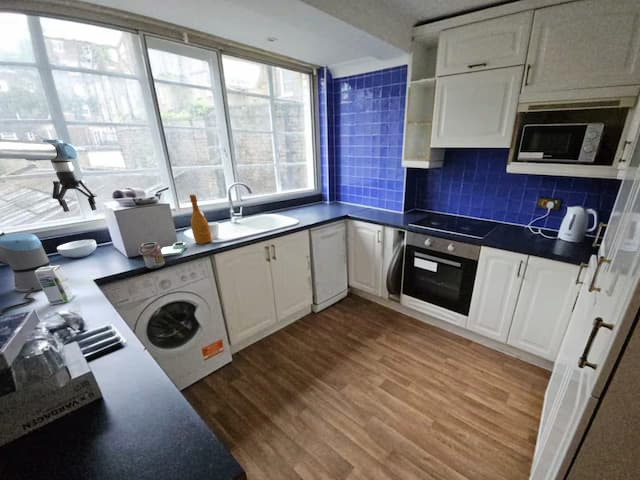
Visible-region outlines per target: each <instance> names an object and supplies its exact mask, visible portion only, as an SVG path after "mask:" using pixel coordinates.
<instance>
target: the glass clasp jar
mask: <svg viewBox="0 0 640 480" xmlns="http://www.w3.org/2000/svg"><path fill="white" fill-rule="evenodd" d="M161 249H162V248H161V247H160V245H159V244H158V242H155V241H151V242H149V241H148V242H145V243H141V246H140V248H139V249H138V254H139V255H141V256H142V257H143V260H144V263H145V266H146V268H148V269H150V270H153V269H158V268H161V267H164V266H165V264H166V262H165V259H164V256H163V255H162V252H161Z"/></svg>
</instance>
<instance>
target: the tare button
mask: <svg viewBox="0 0 640 480" xmlns="http://www.w3.org/2000/svg"><path fill="white" fill-rule="evenodd" d="M183 243H184V242H183V241H180V240H179V241H176V242H174V244H175V245H176V246H177V245H182V244H183Z"/></svg>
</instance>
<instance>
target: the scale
mask: <svg viewBox="0 0 640 480" xmlns="http://www.w3.org/2000/svg"><path fill="white" fill-rule="evenodd" d="M186 248H187V243H186V242H183V244H182V245H177V246H176V245H175V243H173V244H172V246H163V247H162V248H160V249H161V252H162V255H163V257H168V256H169V257H170V256H178V255H181V254H182V253H183V252H184V250H185V249H186Z"/></svg>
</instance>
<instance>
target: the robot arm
mask: <svg viewBox="0 0 640 480" xmlns="http://www.w3.org/2000/svg"><path fill="white" fill-rule="evenodd" d="M77 157H78V151H77V149H76V148H75V146H74V145H72V144H71V143H68V142H63V140H61V139H43V140H42V141H35V140H23V139H22V140H21V139H20V140H19V139H5V138H0V160H1V159H4V160H5V159H7V160H9V159H11V160H15V159H16V160H25V161H30V162H31V161H33V162H36V161H50V163H51V165H52V168H53V170H54V171H55V175H56V177H57V179H58V180H52V184H53V188H52V189H53V190H52V199H53V200H57V201H58V204H59V206H60V207H62V209H63V212H64V213H67V212H70V209H69V206H68V204H67V201H66V199H65V198H64V197H65V195H66V193H67V191H68V190H77V191H79V192H80V193H81V194H83V195H84V196H85V197H86V198H87V201H88V204H89V207H90V209H91V211H97V207H96V205H95V204H96V203H97V202H96V200H95V198H96V197H98V194H97V193H96V192H95V191H94V190H93V189H92V188H91V187H90V186H89V185H88V183H87V182H86V181H85V179H79V180H78V176H77V174H76V172H75V170H74V166H73V164H72V161H71V160H75V159H76V158H77ZM0 265H9V267H10V268H11V270H12V272H13V275H14V289H15V290H16V292H18V293H25V295H24V296H23V299H24V300H27V301H24V302H20V303H16V304H12V305H9V306H6V307H3V308H1V309H0V317H1V316H3V315H5V314H4V312H5V311H7V310H11V309H15V308H18V307H21V306H25V305H29V304H31V303H33V302H34V301H35V300H36V299H35V297H29V296H30V295H31V293H32V292H37V291H41V290H42V291H43V289H42V287H41V285H40V283H39V281H38V279H37V277H36V275H35V273H34V272H35V271H36V270H37V269H39V268H41V267H49V266H52V264H51V262H50V260H49V257H48V256H47V253H46V251H45V249H44V247H43V244H42V242H41V241H40V239H39V238H38V236H36V235H35V234H34V233H29V232H28V233H26V232H20V233H19V232H18V233H9V234H6V233H5V232H4V231H3V229H0Z"/></svg>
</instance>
